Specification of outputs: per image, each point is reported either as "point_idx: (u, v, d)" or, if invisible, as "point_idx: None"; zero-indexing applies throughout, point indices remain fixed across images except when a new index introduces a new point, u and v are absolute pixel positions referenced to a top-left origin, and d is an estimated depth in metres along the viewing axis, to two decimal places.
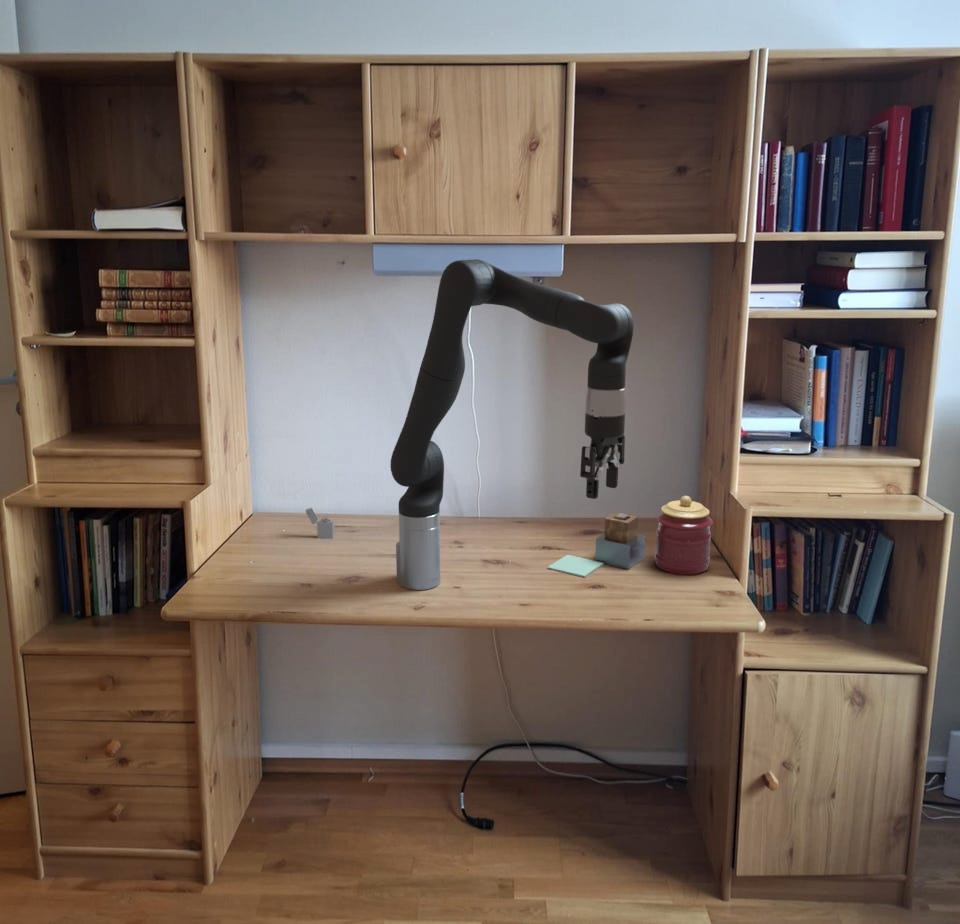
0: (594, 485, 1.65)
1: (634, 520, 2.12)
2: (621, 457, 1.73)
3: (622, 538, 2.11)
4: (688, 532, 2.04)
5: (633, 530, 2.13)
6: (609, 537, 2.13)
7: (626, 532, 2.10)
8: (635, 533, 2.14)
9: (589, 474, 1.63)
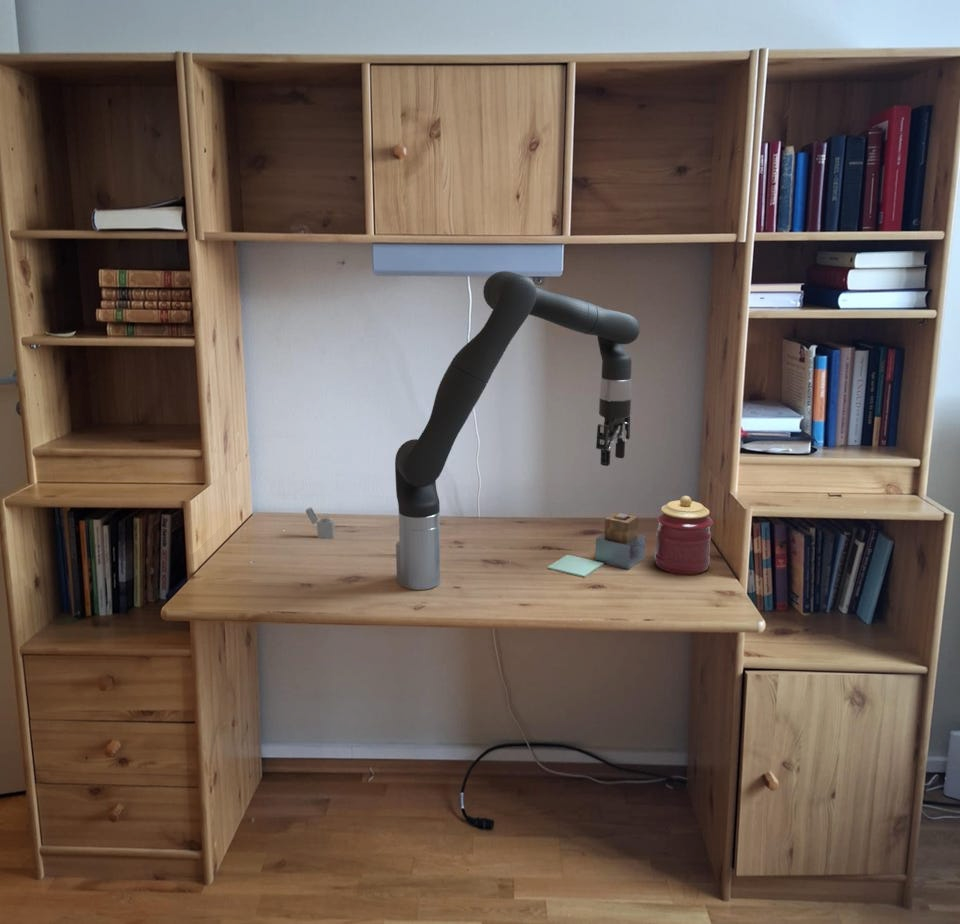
0: (607, 455, 2.11)
1: (634, 520, 2.12)
2: (627, 434, 2.18)
3: (622, 538, 2.11)
4: (688, 532, 2.04)
5: (633, 530, 2.13)
6: (609, 537, 2.13)
7: (626, 532, 2.10)
8: (635, 533, 2.14)
9: (603, 446, 2.08)
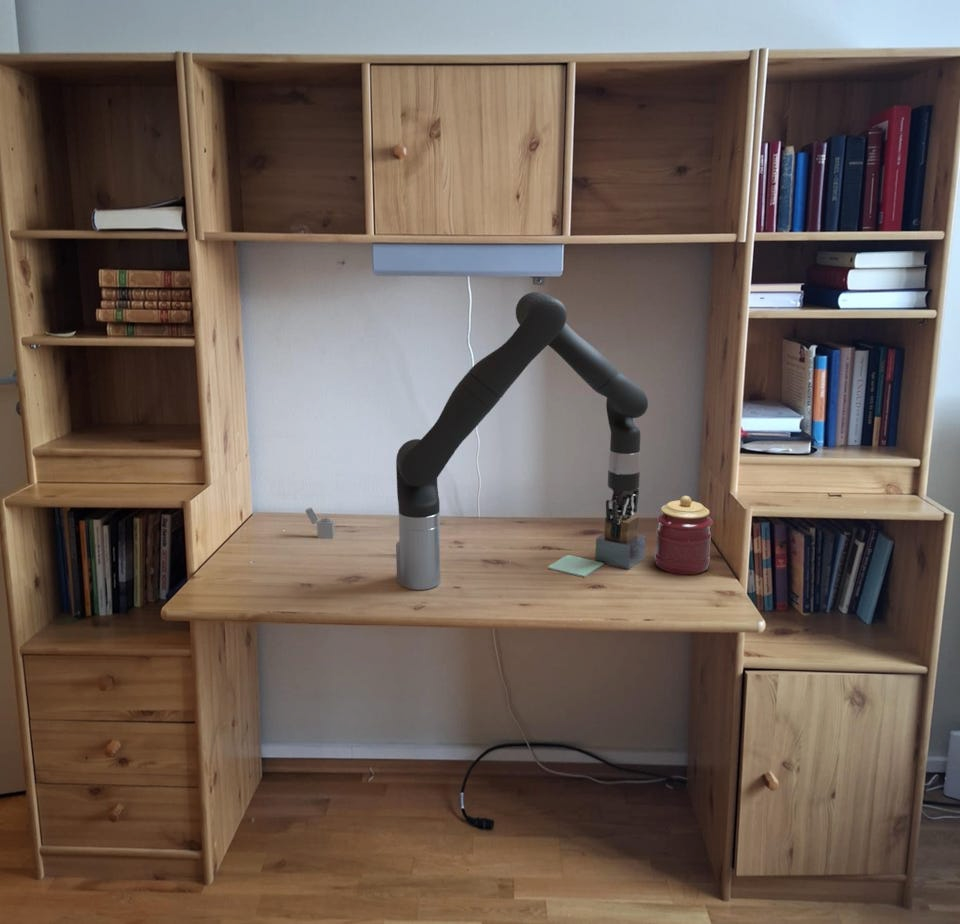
0: (617, 529, 2.10)
1: (634, 520, 2.12)
2: (635, 506, 2.16)
3: (622, 538, 2.11)
4: (688, 532, 2.04)
5: (633, 530, 2.13)
6: (609, 537, 2.13)
7: (626, 532, 2.10)
8: (635, 533, 2.14)
9: (613, 521, 2.08)
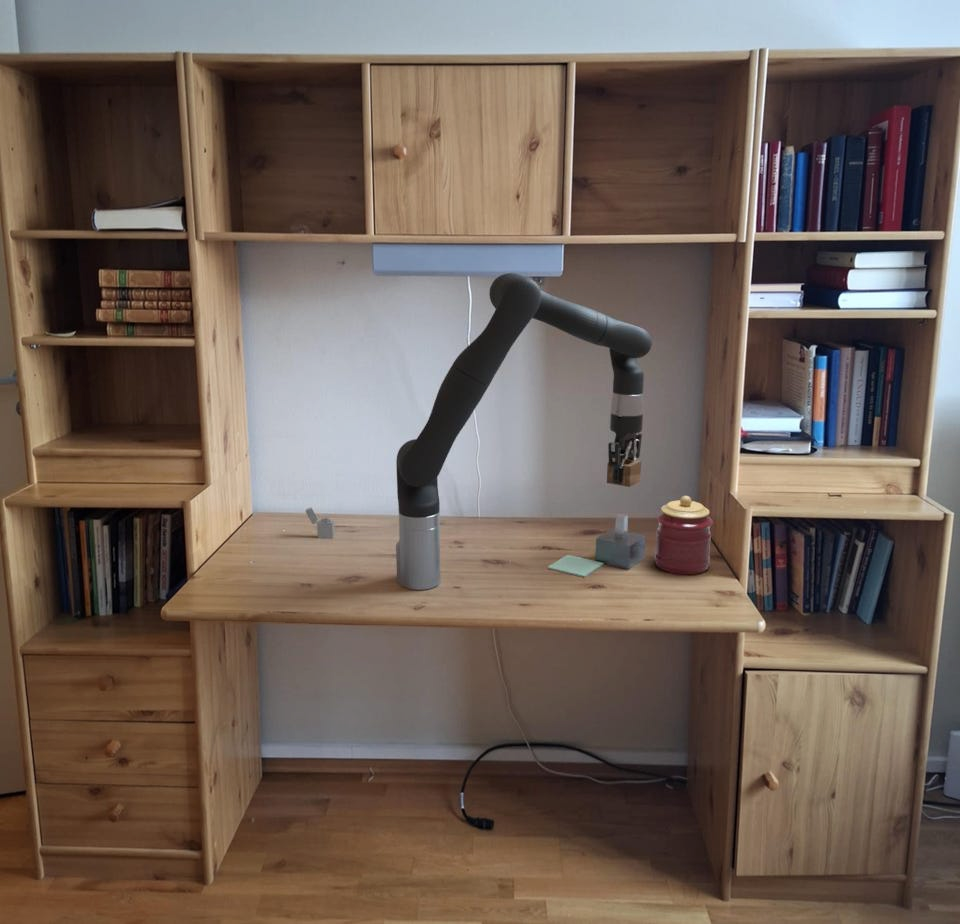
0: (619, 473, 2.06)
1: (637, 465, 2.09)
2: (637, 452, 2.13)
3: (625, 482, 2.07)
4: (688, 532, 2.04)
5: (636, 475, 2.09)
6: (611, 482, 2.09)
7: (629, 476, 2.06)
8: (638, 478, 2.10)
9: (616, 464, 2.04)
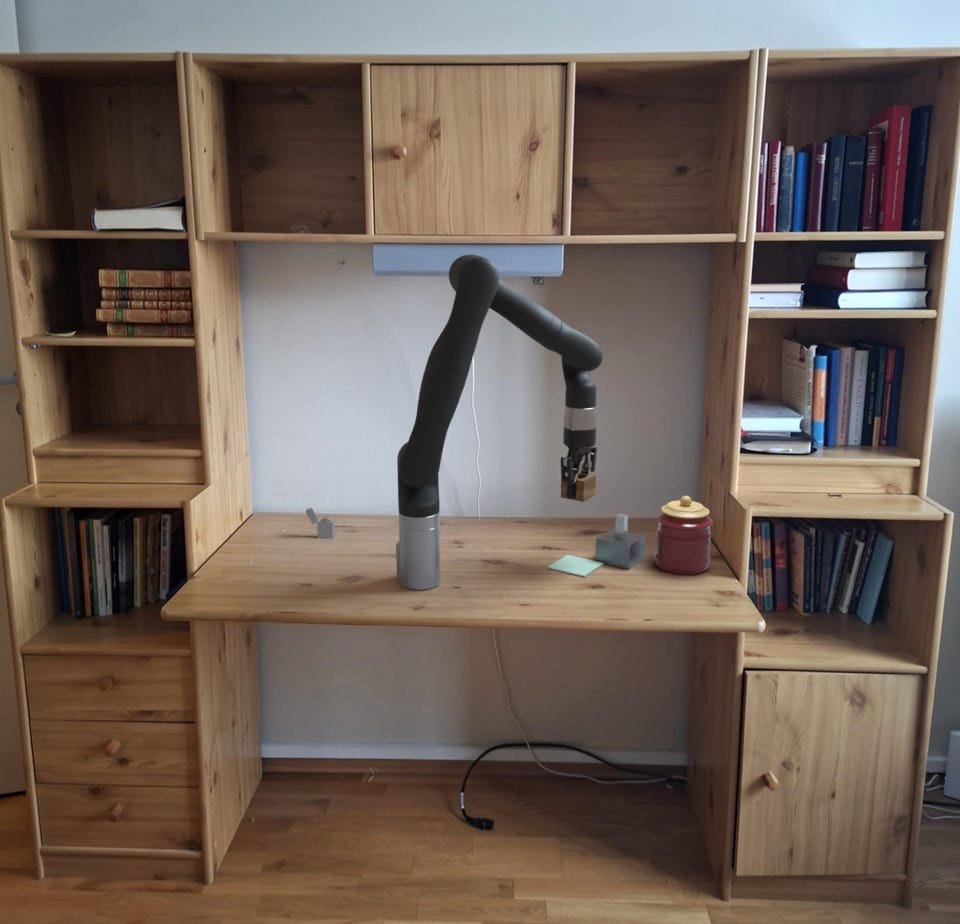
0: (573, 487, 2.03)
1: (591, 479, 2.05)
2: (592, 465, 2.09)
3: (578, 497, 2.04)
4: (687, 532, 2.04)
5: (590, 489, 2.05)
6: (565, 496, 2.05)
7: (582, 491, 2.03)
8: (592, 492, 2.07)
9: (568, 479, 2.00)
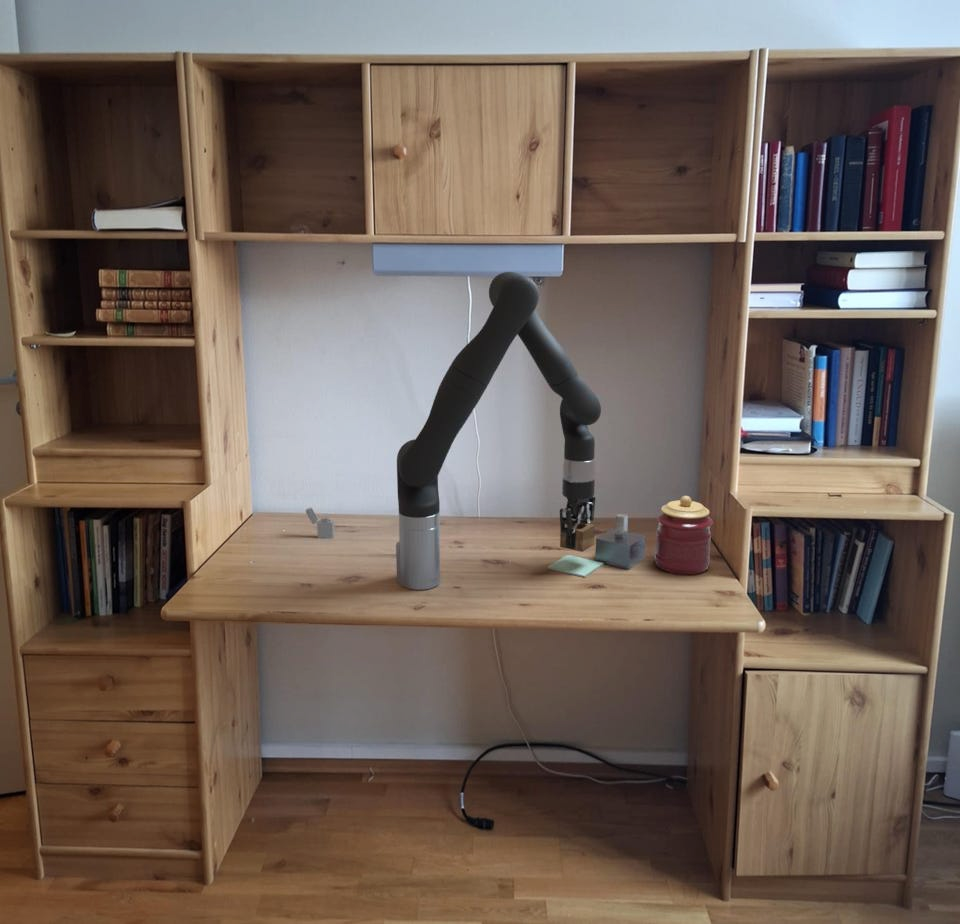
0: (572, 538, 2.06)
1: (590, 529, 2.08)
2: (591, 515, 2.12)
3: (577, 547, 2.07)
4: (688, 532, 2.04)
5: (589, 539, 2.08)
6: (565, 546, 2.09)
7: (581, 541, 2.06)
8: (591, 542, 2.10)
9: (567, 530, 2.04)
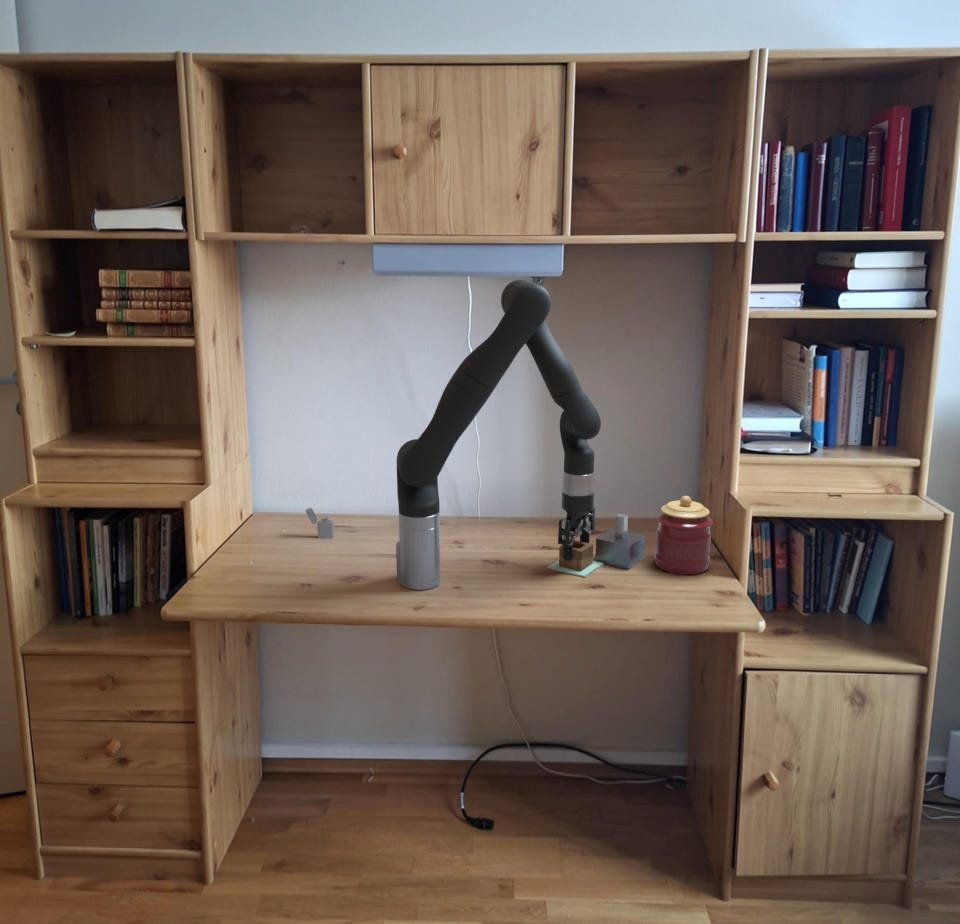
0: (569, 550, 2.06)
1: (589, 548, 2.10)
2: (592, 525, 2.14)
3: (576, 567, 2.08)
4: (688, 532, 2.04)
5: (588, 558, 2.10)
6: (563, 565, 2.10)
7: (580, 561, 2.07)
8: (590, 561, 2.11)
9: (565, 542, 2.04)
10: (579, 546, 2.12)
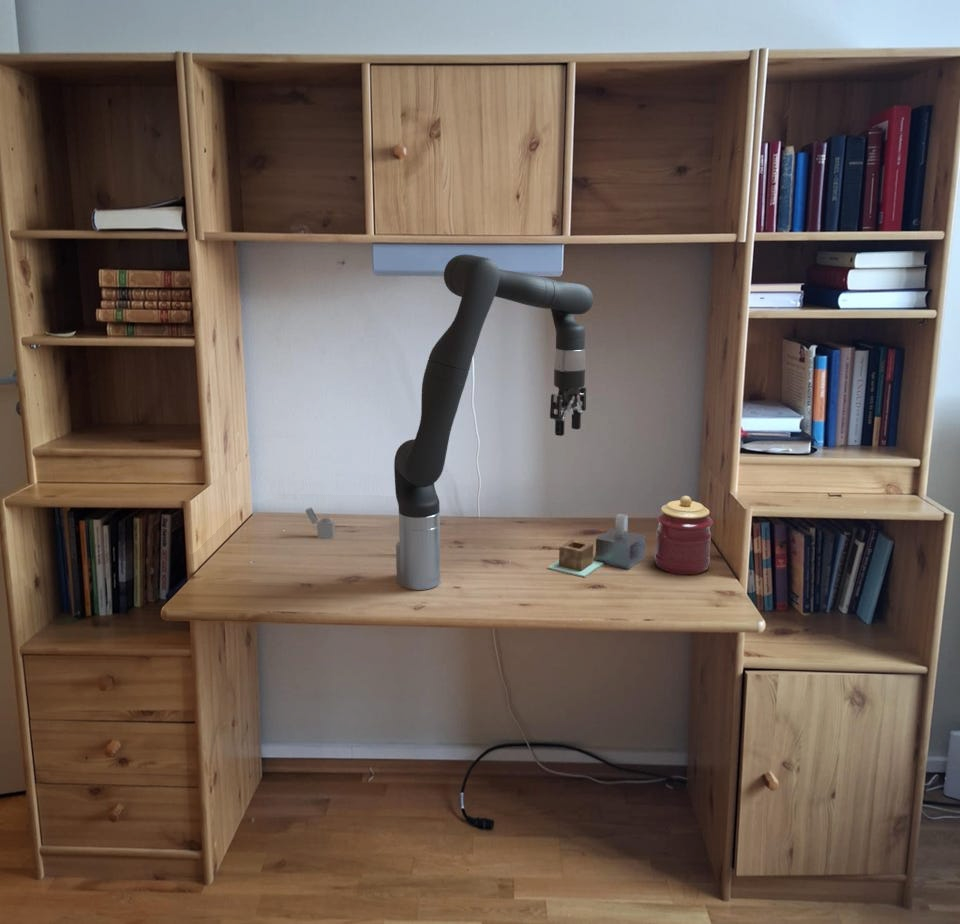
0: (561, 425, 2.13)
1: (589, 548, 2.10)
2: (583, 405, 2.20)
3: (576, 567, 2.08)
4: (688, 532, 2.04)
5: (588, 558, 2.10)
6: (563, 565, 2.10)
7: (580, 561, 2.07)
8: (590, 561, 2.11)
9: (556, 415, 2.10)
10: (579, 546, 2.12)
